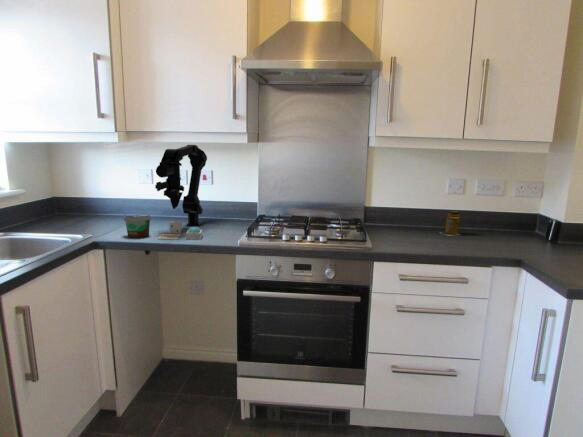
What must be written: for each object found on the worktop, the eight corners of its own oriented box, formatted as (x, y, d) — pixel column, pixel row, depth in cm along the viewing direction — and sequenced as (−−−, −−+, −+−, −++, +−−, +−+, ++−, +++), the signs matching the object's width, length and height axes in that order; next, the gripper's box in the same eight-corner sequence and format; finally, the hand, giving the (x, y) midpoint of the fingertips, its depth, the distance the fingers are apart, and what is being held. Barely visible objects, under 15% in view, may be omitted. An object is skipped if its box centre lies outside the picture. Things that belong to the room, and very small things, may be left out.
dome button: (190, 234, 175) (190, 226, 174) (199, 234, 175) (199, 226, 174) (188, 237, 170) (188, 228, 169) (198, 237, 171) (198, 228, 170)
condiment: (461, 234, 192) (464, 212, 190) (449, 236, 188) (452, 213, 186) (449, 231, 198) (452, 209, 196) (438, 233, 195) (440, 210, 192)
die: (171, 231, 184) (171, 221, 183) (182, 231, 185) (181, 221, 184) (169, 233, 180) (169, 223, 179) (180, 233, 180) (179, 223, 179)
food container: (120, 238, 168) (118, 216, 166) (125, 235, 174) (124, 214, 172) (147, 238, 169) (146, 217, 166) (152, 235, 175) (151, 214, 173)
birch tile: (162, 234, 177) (162, 233, 177) (181, 234, 178) (181, 233, 178) (157, 239, 168) (157, 238, 168) (177, 239, 169) (177, 238, 169)
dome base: (188, 235, 176) (188, 229, 175) (202, 235, 176) (202, 229, 176) (186, 239, 169) (186, 233, 169) (200, 239, 170) (200, 233, 169)
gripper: (160, 173, 185) (162, 204, 188) (151, 177, 167) (153, 211, 170) (183, 174, 186) (184, 204, 189) (176, 177, 168) (178, 211, 171)
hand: (175, 208), depth 180 cm, fingers open, 4 cm apart
